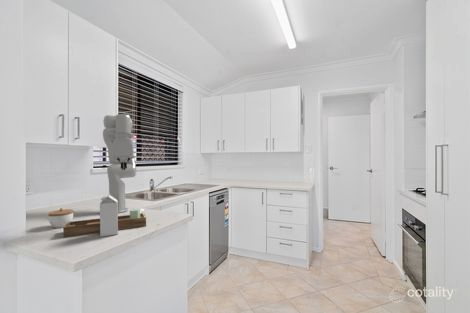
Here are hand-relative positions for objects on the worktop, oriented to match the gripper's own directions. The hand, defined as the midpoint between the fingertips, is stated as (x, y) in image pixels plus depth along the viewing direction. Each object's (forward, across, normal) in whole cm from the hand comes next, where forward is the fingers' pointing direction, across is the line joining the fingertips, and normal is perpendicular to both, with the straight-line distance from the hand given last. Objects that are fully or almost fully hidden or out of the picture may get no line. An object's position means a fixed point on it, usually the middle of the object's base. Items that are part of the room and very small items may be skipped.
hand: (123, 169), depth 127 cm
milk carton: (+29, +6, +18) cm, 35 cm away
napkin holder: (+30, -8, -1) cm, 31 cm away
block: (+26, -5, +8) cm, 28 cm away
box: (+29, +8, +9) cm, 31 cm away
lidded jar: (+29, +30, -8) cm, 43 cm away
